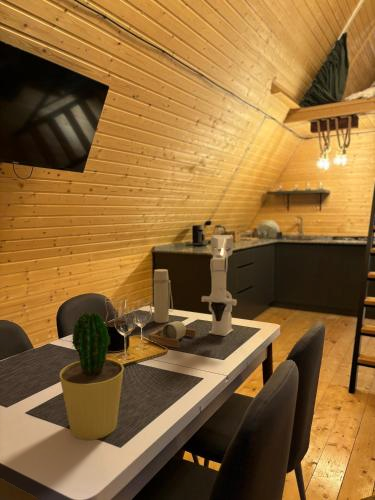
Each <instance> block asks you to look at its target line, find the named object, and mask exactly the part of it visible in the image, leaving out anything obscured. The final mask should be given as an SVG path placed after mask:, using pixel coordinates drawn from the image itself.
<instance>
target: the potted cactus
mask: <svg viewBox="0 0 375 500" xmlns="http://www.w3.org/2000/svg"><path fill="white" fill-rule="evenodd" d="M79 315H80V316H79V317H78V316H77V317H75V320H76V322H75V323H74V325H73V328H72V329H73V330H72V333H70V335H71V337H70V338H71V339H70V340H69V341H68V342H70V343H71V344H72V346H71V348H70V349H69V350H70V351H71V349H74V353H76V352H77V353H78V354H77V356H78V360H79V361H74V362H72V363H70V364H68V365H66V366H65V367H63V368H62V369H61V370H60V372H59V378H60V379H59V380H60V384H61V385H60V386H61V389H62V394H63V400H64V404H65V409H66V415H67V420H68V424H69V429H70V432H71V434H72V436H73V437H75V438H76V439H80V440H84V441H85V440H88V441H89V440H98V439H101V438H104V437H107V436H108V435H110V434H112V432H114V431H115V430H116V427H117V424H118V417H119V407H120V400H121V392H122V384H123V376H124V371H125V370H124V369H125V367H124V365H123V363H121V362H120V361H118V360H116V359H111V358H107V357H106V356H107V352H109V351H110V349H108V347H109V345H112V342H111V339H110V338H111V336H109V335H110V334H111V332H110V333H108V331H109V327H108V328H107V325H106V324H107V321H104V319H105V316H101V315H100V314H99V311H97V312H96V311H95V312H84V313H79Z"/></svg>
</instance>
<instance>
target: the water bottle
mask: <svg viewBox="0 0 375 500" xmlns="http://www.w3.org/2000/svg"><path fill="white" fill-rule="evenodd" d="M153 271H154V273H153V311H154V312H153V314H154V315H153V318H154V322H155V323H158V324H167V322H169V320H170V317H169V316H170V315H169V313H172V312H173V309H174V307H173V304H174V303H171V308H170V302H173V298H172V297H173V296H172V295H171V294H172V290H171V289H172V288H171V280H170V279H169V270H168V269H164V268H161V269H160V268H159V269H154V270H153ZM170 299H171V301H170ZM170 309H171V310H170Z"/></svg>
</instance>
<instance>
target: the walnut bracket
mask: <svg viewBox="0 0 375 500" xmlns="http://www.w3.org/2000/svg"><path fill="white" fill-rule="evenodd" d="M162 328H163V327H161V328H159V329H156V330H155V331H153V332H151V333H149V334H148V335H147V336H148V337H147V339H148V340H150V341H153V342H156V343H158V344H157V345H162V346H166V347H172V348H175V349H178V348H180V339H173V338H167V337H162V336H160V334H162ZM184 336H185V337H191V338H196V337H197V329H195V328H188V327H186V333H185V335H184ZM148 340H147V341H148ZM156 343H155V344H156Z"/></svg>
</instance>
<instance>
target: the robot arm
mask: <svg viewBox="0 0 375 500" xmlns="http://www.w3.org/2000/svg"><path fill="white" fill-rule="evenodd" d="M210 245H211V253H212V258H210V261H209V262H210V265H209V267H210V275H211V293H210V294H209V296H207V295H202V296H201V302H207V303H208V311H210V313H211V316H212V317H211V318H212V320H211V321H212V322H211V323H212V324H211V326H212V327H211V328H212V329H211V330H210V331H208V334H211V335H218V336H224V337H226V336H227V335H228V334H230V333H231V332H233V331H234V328H232V324H233V323H232V319H233V318H232V314H231V312H232V311H233V306H236V305H237V302H238V301H237V299H234V298H233V297H232V294H231V293H230V291H228V290H227V272H228V259H229V257H230V256H232V255H233V253H234V252H233V250H234V249H233V247H234V236H233V234H212V235H211V237H210Z"/></svg>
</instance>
